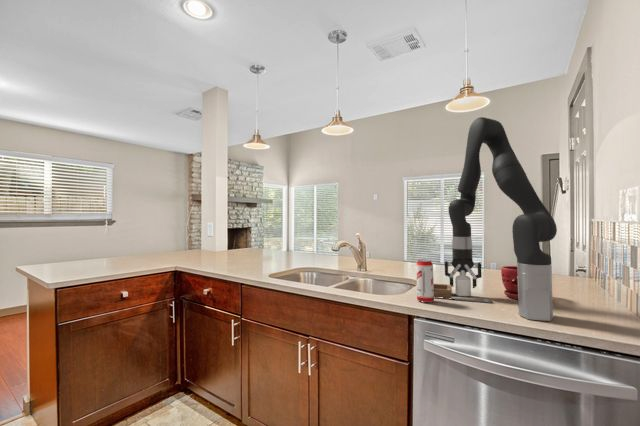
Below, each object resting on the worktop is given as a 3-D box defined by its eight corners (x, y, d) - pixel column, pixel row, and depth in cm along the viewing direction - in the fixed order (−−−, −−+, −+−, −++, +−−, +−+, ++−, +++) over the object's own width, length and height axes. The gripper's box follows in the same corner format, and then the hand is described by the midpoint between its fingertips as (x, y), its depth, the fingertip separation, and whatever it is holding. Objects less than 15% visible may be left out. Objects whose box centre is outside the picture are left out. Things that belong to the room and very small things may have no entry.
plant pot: (549, 301, 118) (548, 269, 119) (513, 301, 119) (513, 270, 119) (526, 293, 131) (526, 264, 132) (495, 293, 132) (494, 265, 132)
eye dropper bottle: (469, 298, 126) (468, 268, 126) (454, 295, 129) (453, 266, 129) (472, 295, 129) (471, 266, 129) (457, 293, 132) (457, 265, 133)
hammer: (493, 303, 117) (493, 294, 117) (427, 298, 127) (426, 289, 127) (490, 295, 128) (490, 287, 128) (429, 291, 138) (429, 283, 138)
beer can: (431, 299, 125) (430, 259, 125) (435, 303, 118) (434, 261, 119) (415, 299, 125) (414, 259, 125) (419, 303, 119) (417, 261, 119)
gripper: (443, 247, 129) (444, 287, 129) (482, 248, 123) (483, 290, 123) (443, 246, 136) (444, 284, 136) (480, 247, 130) (481, 286, 130)
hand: (463, 287), depth 129 cm, fingers open, 7 cm apart
